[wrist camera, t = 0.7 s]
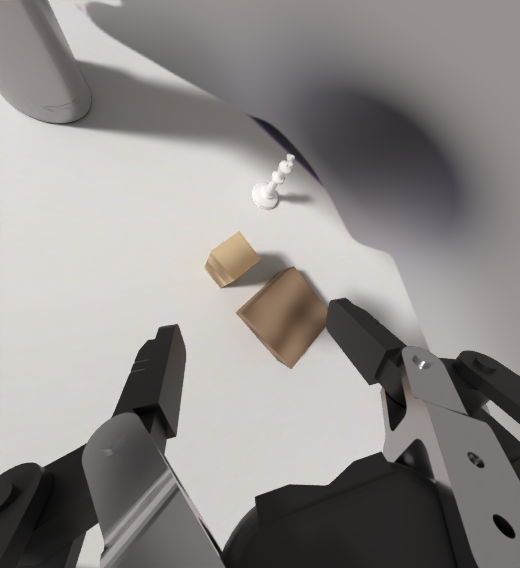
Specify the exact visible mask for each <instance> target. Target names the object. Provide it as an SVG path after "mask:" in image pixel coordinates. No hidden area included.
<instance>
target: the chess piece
mask: <svg viewBox="0 0 520 568" xmlns="http://www.w3.org/2000/svg"><path fill="white" fill-rule="evenodd" d="M294 159H295V157H294V155H291V154H288V155H287V161H285V160H283V161H281V162H280V164H279V168H278V171H275V172H273V174H272V179H273V180H272V181H271V182H270V183H266V182H261V183H258V184H257V185H256V186H255V187H254V188H253V191H252V197H253V200H254V202H255V203H256V204H257V205H258V206H259V207H260V208H262V209H266V210H268V209H272V208H273V207H274V206H275V205H276V203H277V201H278V194H277V192H276V190H275V188H276V186H277V185H278V184H282V183H283V182H284V180H285V177H284V176H286V175H288V174H290V173H291V171H292V167H293V163H292V161H293V160H294Z"/></svg>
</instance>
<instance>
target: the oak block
mask: <svg viewBox="0 0 520 568" xmlns="http://www.w3.org/2000/svg"><path fill="white" fill-rule="evenodd" d="M260 260H261V259H260V257H259V256H258V255H257V253H256V252H255V251H254V249H253V248H252V247H251V246H250V244H249V243H248V242H247V240H246V239H245V238H244V236H243V235H242V234H241V232H240V231H239V232H238V233H236V234H235V235H233V236H232V237H231V238H229V239H228V240H226V241H225V242H223V243H222V244H221V245H219V246H218V247H216V248H215V249H213V250H212V251H211V253H210V256H209V258H208V260H207V263H206V265H205V267H204V269H205V270H206V271H207V272H208V273H209V275H210V276H211V277H212V278H213V280H214V281H215V282H216V283H217V284H218V286H219V287H220V288H222V287H223V286H225V285H227V284H229V283H231V282H233V281H235V280H236V279H237V278H239V277H240V276H241V275H242V274H244V273H245V272H246V271H247V270H248V269H250V268H251V267H252V266H253V265H255V264H256V263H257V262H258V261H260Z"/></svg>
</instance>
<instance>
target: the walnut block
mask: <svg viewBox="0 0 520 568" xmlns="http://www.w3.org/2000/svg"><path fill="white" fill-rule="evenodd" d="M327 312H328V310H327V309H326V307H325V306H324V305H323V303H322V302H321V301H320V299H319V298H318V297H317V296H316V294H315V293H314V292H313V290H312V289H311V288H310V286H309V285H308V284H307V282H306V281H305V280H304V279H303V277H302V276H301V275H300V273H299V272H298V271H297V269H296V268H295V267H294V266H293V267H290V268H287V269H285V270H282V271H280V272H279V273H278V274H277V275H276V276H274V277H273V278H272V279H271V280H270V281H269V282H268V283H267V284H266V285H265V286H264V287H263V288H262V289H261V290H259V291H258V292H257V293H256V294H255V295H254V296H253V297H252V298H251V299H250V300H249V301H248V302H247V303H246V304H245V305H243V306H242V307H241V308H240V309H239V310H238V311H237V312H236V314H237V315H238V316H239V317H240V318H241V319H242V320H243V322H244V323H245V324H246V325H247V326H248V327H249V328H250V330H251V331H252V332H253V333H254V334H255V335H256V336H257V338H258V339H259V340H260V341H261V342H262V343H263V344H264V346H265V347H266V348H267V349H268V350H269V351H270V352H271V354H272V355H273V356H274V357H275V358H276V359H277V360H278V361H279V362H281V363H283V364H284V365H286V366H287V367H289V368H290V369H292V368H293V366H294V365H295V364H296V363H297V361H298V360H299V359H300V358H301V356H302V355H303V354H304V353H305V352H306V350H307V349H308V348H309V347H310V345H311V344H312V343H313V342H314V340H315V339H316V338H317V337H318V335H319V334H320V333H321V332H322V330H323V329H324V328H325V327H326V317H327Z"/></svg>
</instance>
